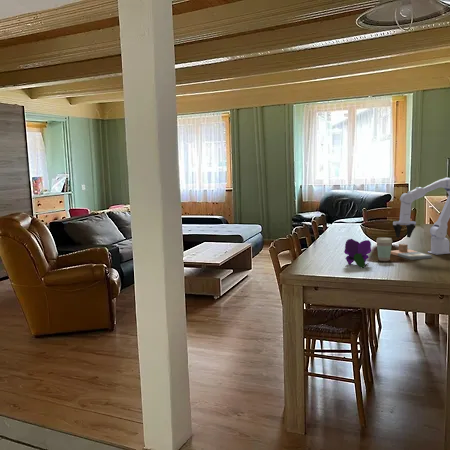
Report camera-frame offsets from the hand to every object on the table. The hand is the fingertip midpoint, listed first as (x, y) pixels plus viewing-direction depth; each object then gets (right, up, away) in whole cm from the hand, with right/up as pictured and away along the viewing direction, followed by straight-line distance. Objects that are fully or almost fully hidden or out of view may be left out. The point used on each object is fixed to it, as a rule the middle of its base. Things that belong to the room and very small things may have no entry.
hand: (403, 237), depth 269 cm
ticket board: (+3, -11, -8) cm, 14 cm away
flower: (-33, -15, -27) cm, 45 cm away
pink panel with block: (0, -10, +1) cm, 10 cm away
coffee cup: (-16, -12, -13) cm, 24 cm away
